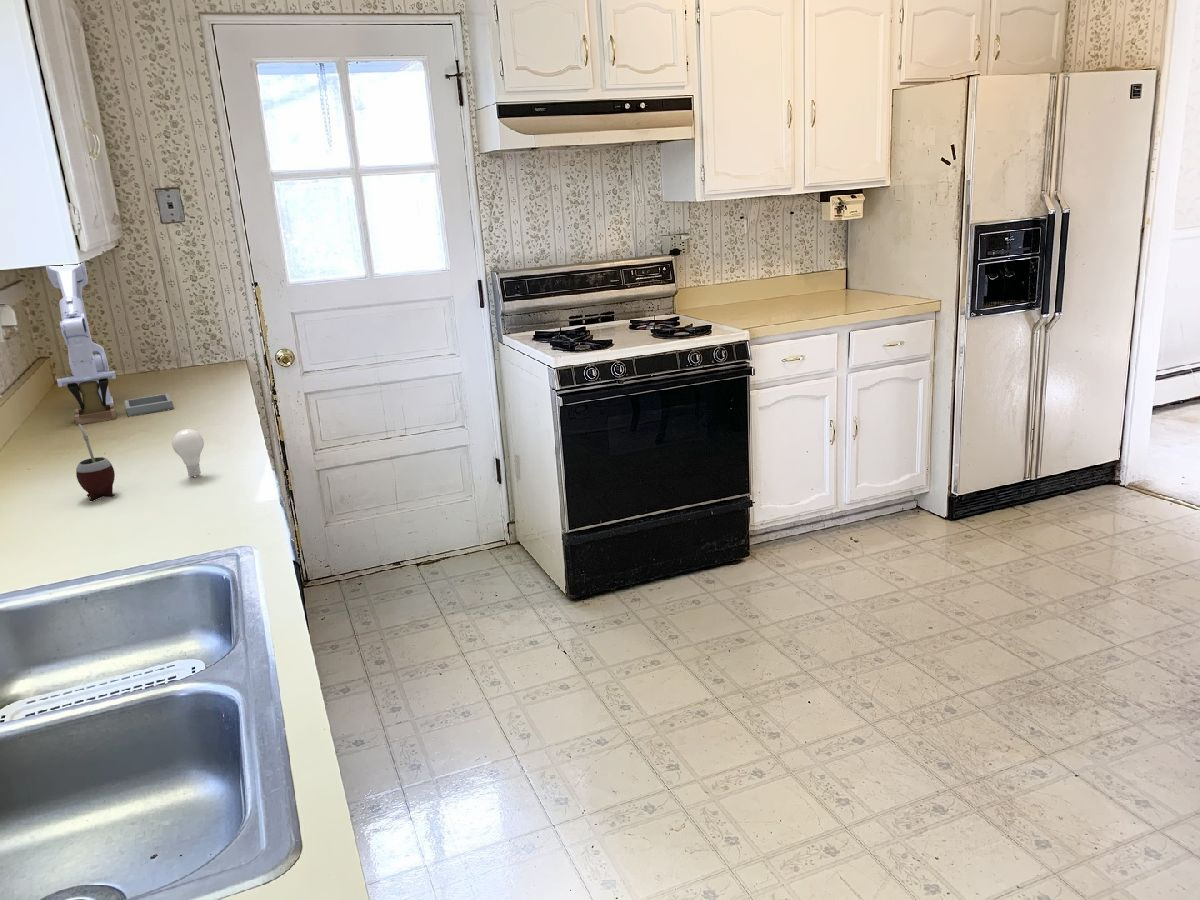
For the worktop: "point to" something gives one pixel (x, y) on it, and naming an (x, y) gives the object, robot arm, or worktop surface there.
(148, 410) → the tray
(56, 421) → the worktop surface
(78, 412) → the wooden square frame
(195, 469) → the lightbulb
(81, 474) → the mate gourd
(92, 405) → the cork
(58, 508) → the worktop surface
